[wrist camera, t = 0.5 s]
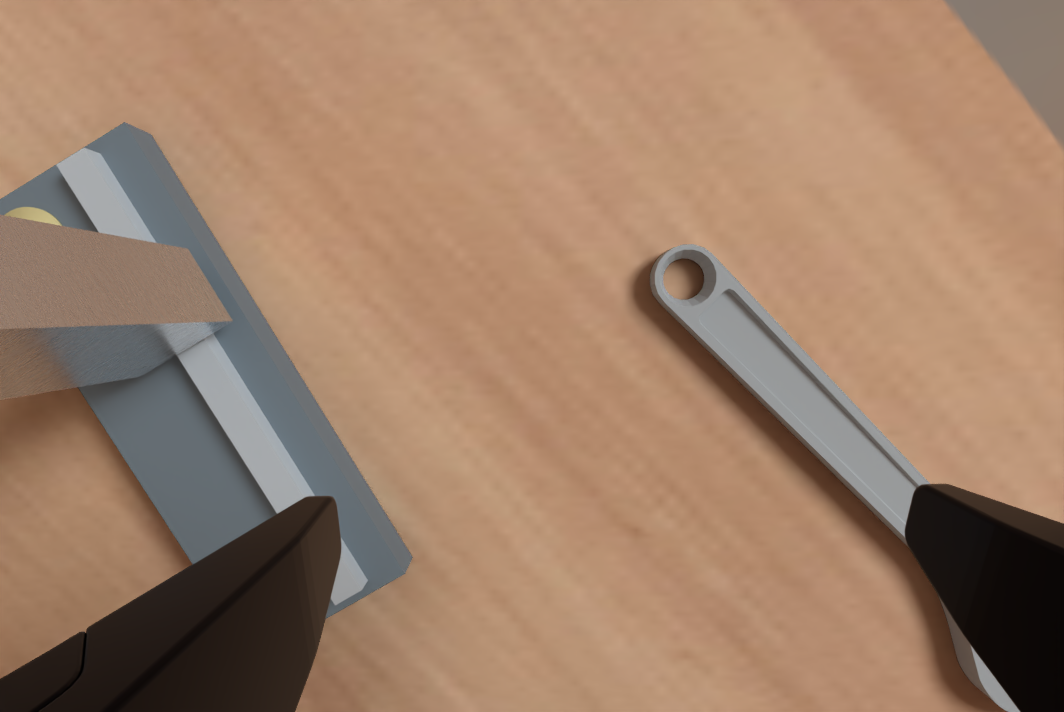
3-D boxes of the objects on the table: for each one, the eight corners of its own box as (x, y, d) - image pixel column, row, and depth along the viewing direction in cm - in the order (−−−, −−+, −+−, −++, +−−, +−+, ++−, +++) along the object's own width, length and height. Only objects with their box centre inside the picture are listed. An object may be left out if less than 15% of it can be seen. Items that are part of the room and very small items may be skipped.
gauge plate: (412, 557, 24) (395, 593, 21) (271, 638, 25) (233, 685, 22) (151, 134, 23) (92, 106, 20) (4, 224, 23) (-76, 211, 20)
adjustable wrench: (630, 279, 24) (638, 276, 22) (750, 176, 24) (768, 165, 22) (1000, 719, 25) (1035, 749, 24) (1118, 626, 25) (1163, 649, 23)
